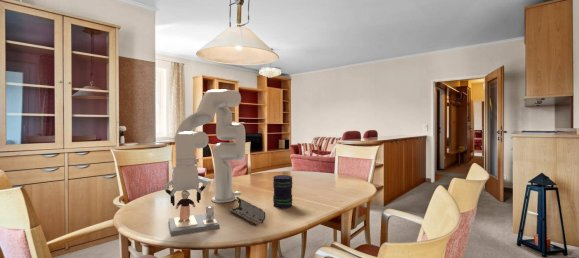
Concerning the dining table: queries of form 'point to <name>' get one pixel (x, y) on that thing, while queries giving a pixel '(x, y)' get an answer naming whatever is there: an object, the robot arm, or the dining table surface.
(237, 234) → the dining table surface
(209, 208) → the pin
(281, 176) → the storage jar
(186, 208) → the grandmother figurine
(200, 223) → the board
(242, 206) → the model building
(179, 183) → the robot arm
